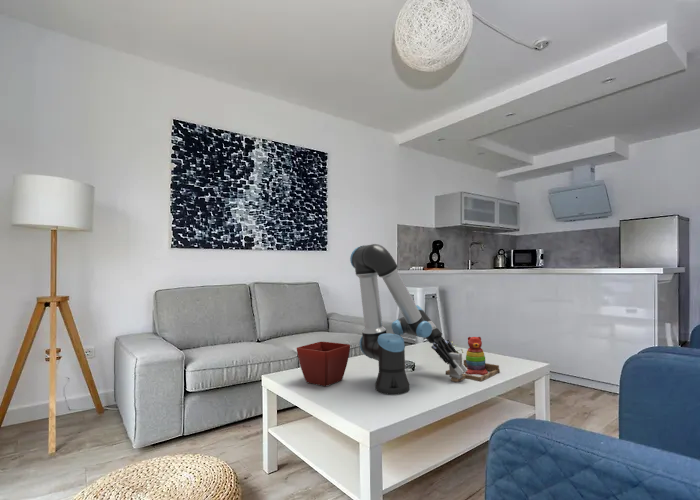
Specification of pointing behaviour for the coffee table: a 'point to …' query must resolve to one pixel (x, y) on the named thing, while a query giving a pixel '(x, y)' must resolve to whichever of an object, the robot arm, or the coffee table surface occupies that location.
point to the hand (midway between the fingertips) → (463, 372)
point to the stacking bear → (475, 357)
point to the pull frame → (458, 358)
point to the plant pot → (323, 362)
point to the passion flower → (455, 346)
